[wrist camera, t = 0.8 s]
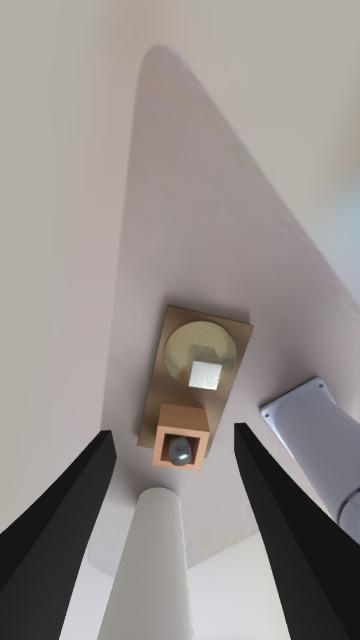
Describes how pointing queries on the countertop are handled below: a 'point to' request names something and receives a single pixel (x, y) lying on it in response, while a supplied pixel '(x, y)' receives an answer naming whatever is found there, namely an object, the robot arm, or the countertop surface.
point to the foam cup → (151, 575)
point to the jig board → (179, 394)
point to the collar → (185, 424)
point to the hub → (200, 354)
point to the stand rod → (179, 450)
